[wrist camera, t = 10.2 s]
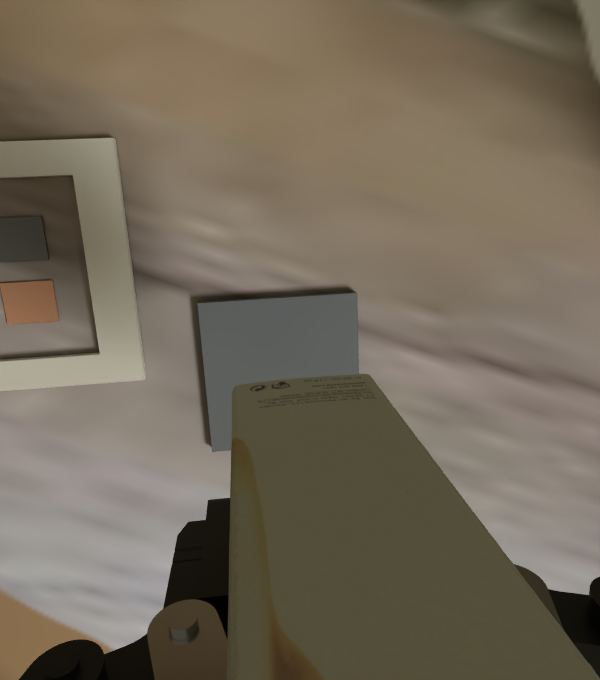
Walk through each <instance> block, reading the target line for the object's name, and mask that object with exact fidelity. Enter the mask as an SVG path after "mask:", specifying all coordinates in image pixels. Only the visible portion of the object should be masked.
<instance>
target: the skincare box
mask: <svg viewBox="0 0 600 680" xmlns="http://www.w3.org/2000/svg"><path fill="white" fill-rule="evenodd" d="M227 680H600V678H599V677H598V675H597V674H596V673H595V671H594V670H593V669H592V667H591V666H590V665H589V663H588V662H587V661H586V660H585V658H584V657H583V656H582V654H581V653H580V652H579V650H578V649H577V648H576V647H575V645H574V644H573V643H572V641H571V640H570V638H569V637H568V636H567V634H566V633H565V632H564V630H563V629H562V627H561V626H560V625H559V623H558V622H557V621H556V620H555V618H554V617H553V616H552V615H551V613H550V612H549V611H548V610H547V608H546V607H545V606H544V604H543V603H542V601H541V600H540V599H539V597H538V596H537V594H536V593H535V592H534V590H533V589H532V588H531V587H530V585H529V584H528V583H527V582H526V580H525V579H524V578H523V576H522V575H521V574H520V572H519V571H518V570H517V568H516V567H515V566H514V564H513V563H512V562H511V560H510V559H509V558H508V557H507V556H506V554H505V553H504V552H503V551H502V549H501V548H500V546H499V545H498V543H497V542H496V541H495V539H494V538H493V537H492V536H491V535H490V533H489V532H488V531H487V529H486V528H485V526H484V525H483V524H482V523H481V521H480V520H479V519H478V517H477V516H476V515H475V514H474V512H473V511H472V510H471V508H470V507H469V506H468V504H467V503H466V502H465V500H464V499H463V498H462V496H461V495H460V494H459V492H458V491H457V490H456V488H455V487H454V486H453V484H452V483H451V482H450V481H449V479H448V478H447V477H446V476H445V474H444V473H443V471H442V470H441V469H440V467H439V466H438V465H437V463H436V462H435V461H434V460H433V458H432V457H431V455H430V454H429V453H428V451H427V450H426V449H425V447H424V446H423V445H422V444H421V442H420V441H419V440H418V439H417V437H416V436H415V435H414V433H413V432H412V431H411V429H410V428H409V426H408V425H407V424H406V423H405V421H404V420H403V419H402V417H401V416H400V415H399V413H398V412H397V411H396V409H395V408H394V407H393V406H392V404H391V403H390V401H389V400H388V399H387V397H386V396H385V395H384V393H383V392H382V391H381V390H380V388H379V387H378V386H377V384H376V383H375V381H374V380H373V379H372V378H371V376H370V375H368V374H354V375H337V376H321V377H307V378H294V379H283V380H274V381H265V382H257V383H249V384H242V385H237V386H235V387H234V388H233V391H232V438H231V490H230V540H229V600H228V647H227Z"/></svg>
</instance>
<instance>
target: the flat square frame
mask: <svg viewBox="0 0 600 680" xmlns="http://www.w3.org/2000/svg"><path fill="white" fill-rule="evenodd" d="M69 175H73V180H74V186H75V193H76V200H77V206H78V213H79V219H80V226H81V233H82V239H83V246H84V252H85V259H86V266H87V272H88V279H89V285H90V292H91V299H92V305H93V312H94V318H95V325H96V331H97V338H98V345H99V351H100V352H99V353H86V354H72V355H58V356H44V357H31V358H17V359H3V360H0V391H10V390H22V389H35V388H48V387H61V386H73V385H86V384H99V383H112V382H124V381H137V380H145V379H146V370H145V363H144V355H143V347H142V339H141V332H140V324H139V316H138V309H137V301H136V293H135V285H134V278H133V270H132V262H131V255H130V247H129V239H128V231H127V224H126V216H125V208H124V200H123V193H122V185H121V177H120V170H119V162H118V154H117V146H116V139H115V138H92V139H63V140H33V141H4V142H0V178H20V177H44V176H69ZM47 259H49V257H48V251H47V245H46V239H45V233H44V227H43V222H42V216H34V217H13V218H0V262H11V261H29V260H47ZM0 288H1V293H2V298H3V303H4V308H5V313H6V319H7V324H22V323H37V322H52V321H59V316H58V310H57V304H56V298H55V292H54V286H53V281H52V280H47V281H31V282H14V283H0Z"/></svg>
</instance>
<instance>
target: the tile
mask: <svg viewBox="0 0 600 680" xmlns="http://www.w3.org/2000/svg"><path fill="white" fill-rule="evenodd" d="M197 304H198V314H199V324H200V334H201V344H202V354H203V365H204V375H205V385H206V395H207V405H208V415H209V425H210V435H211V445H212V452H216V451H227V450H231V438H232V391H233V388H234V387H235V386H237V385H242V384H249V383H257V382H265V381H274V380H283V379H294V378H307V377H321V376H337V375H354V374H359V359H358V309H357V293H356V292H340V293H324V294H309V295H294V296H278V297H263V298H247V299H232V300H216V301H201V302H198V303H197Z"/></svg>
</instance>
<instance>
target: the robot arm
mask: <svg viewBox="0 0 600 680" xmlns="http://www.w3.org/2000/svg"><path fill="white" fill-rule="evenodd" d="M229 540H230V498H224V499H214V500H208V506H207V515H206V520H202V521H192V522H188V523H187V524H186V526H185V527H184V528H183V529H182V531H181V532H180V533H179V534H178V536H177V542H176V547H175V553H174V557H173V565H172V567H171V572H170V577H169V582H168V588H167V593H166V598H165V603H164V608H163V610H161V611H160V612H159V613H158V614H157V615H156V616H155V617H154V618H153V620H152V621H151V623H150V625H149V628H148V632H147V634H146V635H145V636H143V637H142V638H141V639H139V640H137V641H135V642H134V643H132V644H129V645H127V646H125V647H122V648H119V649H117V650H114V651H112V652H109V653H107V654H104V653H103V650H102V649H101V647H100V646H99V645H98V644H96V643H95V642H92V641H89V640H73V641H68V642H65V643H62V644H59V645H57V646H55V647H53V648H51V649H49V650H48V651H46V652H45V653H44V654H42V655H41V656H39V657H38V658H37V659H36V660H35V661H34V662H33V663H32V664H31V665H30V666H29V668H28V669H27V670H26V672H25V673H24V674H23V675H22V676H21V678H20V679H19V680H227V647H228V600H229ZM514 566H515V567H516V568H517V570H518V571H519V572H520V574H521V575H522V576H523V578H524V579H525V580H526V582H527V583H528V584H529V585H530V587H531V588H532V589H533V590H534V592H535V593H536V594H537V596H538V597H539V599H540V600H541V601H542V603H543V604H544V606H545V607H546V608H547V610H548V611H549V612H550V613H551V615H552V616H553V617H554V618H555V620H556V621H557V622H558V623H559V625H560V626H561V627H562V629H563V630H564V632H565V633H566V634H567V636H568V637H569V638H570V640H571V641H572V643H573V644H574V645H575V647H576V648H577V649H578V650H579V652H580V653H581V654H582V656H583V657H584V658H585V660H586V661H587V662H588V663H589V665H590V666H591V667H592V669H593V670H594V671H595V673H596V674H597V675H598V677H599V678H600V577H598V578H596V579H594V580H593V581H592V583H591V585H590V591H589V595H583V594H575V593H567V592H559V591H553V590H550V589H548V588H547V586H546V584H545V583H544V582H543V580H542V579H541V578H540V577H539V576H537V575H536V574H535V573H533V572H532V571H530V570H528V569H526V568H524V567H521V566H518V565H515V564H514Z"/></svg>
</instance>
